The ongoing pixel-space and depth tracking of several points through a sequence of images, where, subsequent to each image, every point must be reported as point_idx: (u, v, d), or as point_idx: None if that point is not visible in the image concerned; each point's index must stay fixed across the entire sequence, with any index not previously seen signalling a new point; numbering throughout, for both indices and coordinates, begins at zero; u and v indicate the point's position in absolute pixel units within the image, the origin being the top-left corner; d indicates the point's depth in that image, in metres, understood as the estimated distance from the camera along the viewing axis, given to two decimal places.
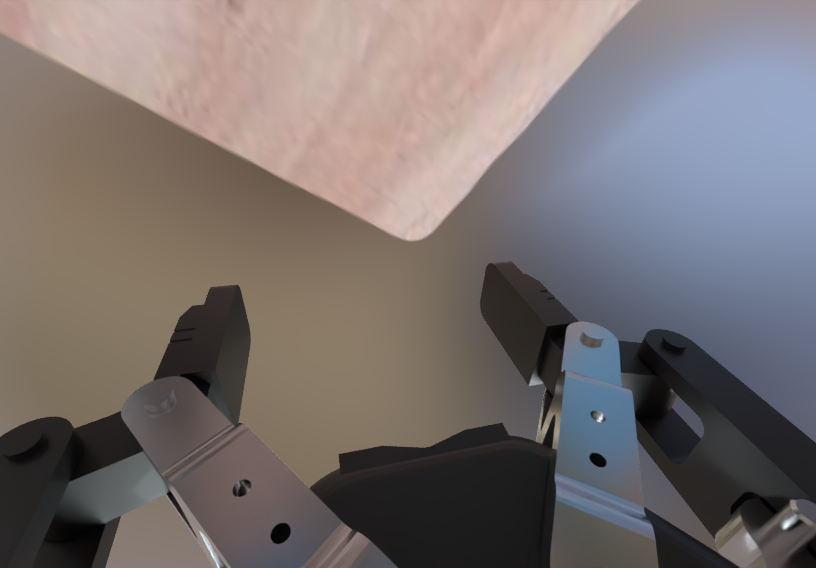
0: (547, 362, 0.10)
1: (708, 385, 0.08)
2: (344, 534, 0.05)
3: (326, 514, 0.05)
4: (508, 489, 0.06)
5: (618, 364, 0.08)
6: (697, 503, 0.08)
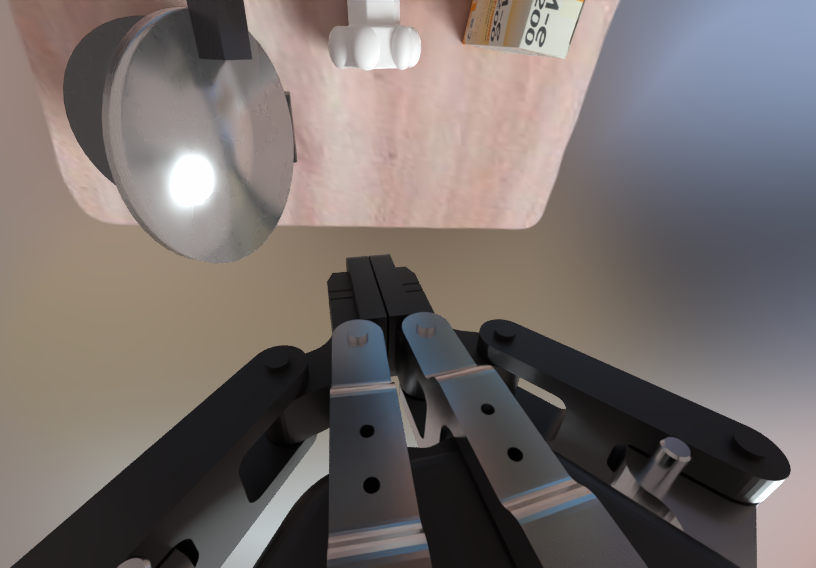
0: (396, 352, 0.10)
1: (551, 363, 0.08)
2: (414, 526, 0.05)
3: (410, 498, 0.05)
4: None
5: (437, 352, 0.09)
6: None
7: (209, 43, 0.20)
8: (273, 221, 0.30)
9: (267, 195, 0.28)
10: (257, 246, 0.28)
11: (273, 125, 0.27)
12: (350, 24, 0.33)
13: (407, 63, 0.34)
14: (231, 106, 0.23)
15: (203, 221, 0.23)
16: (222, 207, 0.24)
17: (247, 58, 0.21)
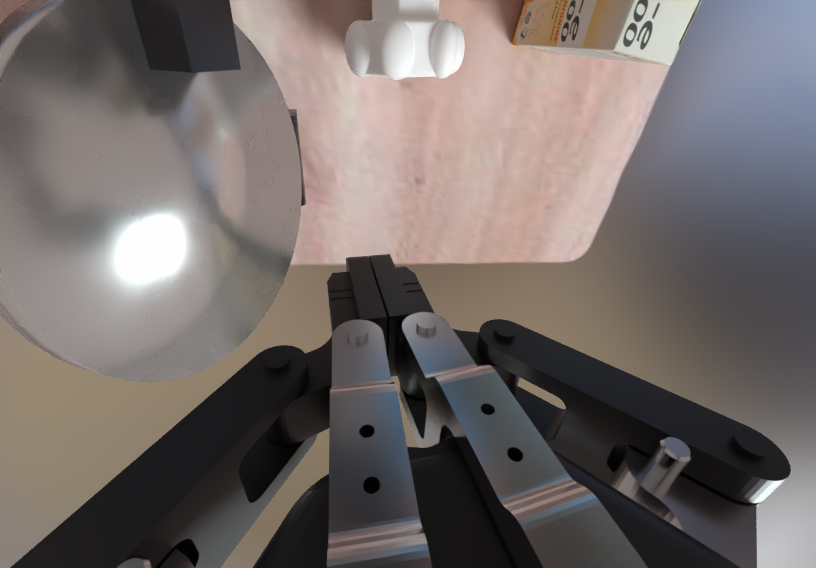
0: (396, 352, 0.10)
1: (551, 363, 0.08)
2: (414, 526, 0.05)
3: (410, 498, 0.05)
4: None
5: (437, 352, 0.09)
6: None
7: (165, 43, 0.11)
8: (273, 290, 0.21)
9: (266, 258, 0.20)
10: (251, 330, 0.20)
11: (273, 160, 0.19)
12: (374, 18, 0.25)
13: (450, 70, 0.25)
14: (209, 141, 0.15)
15: (163, 323, 0.14)
16: (196, 293, 0.16)
17: (232, 68, 0.13)
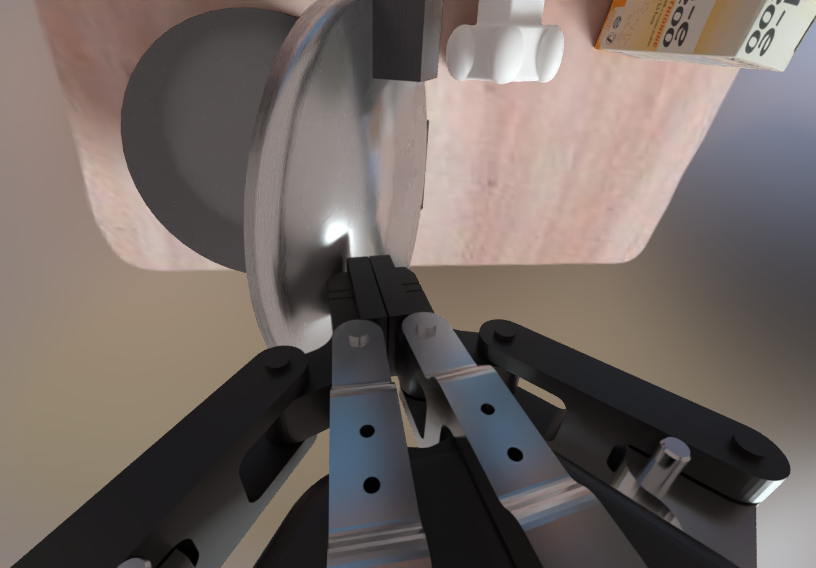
0: (396, 352, 0.10)
1: (551, 363, 0.08)
2: (414, 526, 0.05)
3: (410, 498, 0.05)
4: None
5: (437, 352, 0.09)
6: None
7: (398, 53, 0.12)
8: None
9: (399, 261, 0.20)
10: None
11: (414, 165, 0.19)
12: (480, 23, 0.25)
13: (554, 74, 0.25)
14: (389, 147, 0.15)
15: None
16: None
17: (434, 76, 0.13)
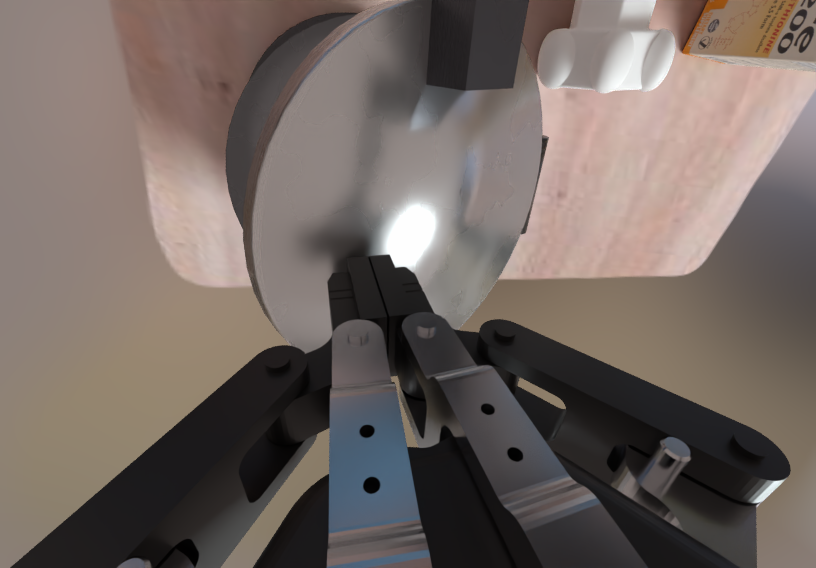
0: (396, 352, 0.10)
1: (551, 363, 0.08)
2: (414, 526, 0.05)
3: (410, 498, 0.05)
4: None
5: (437, 352, 0.09)
6: None
7: (449, 59, 0.11)
8: (465, 314, 0.20)
9: (469, 282, 0.19)
10: None
11: (509, 183, 0.18)
12: (580, 26, 0.23)
13: None
14: (455, 159, 0.14)
15: None
16: None
17: (505, 86, 0.12)
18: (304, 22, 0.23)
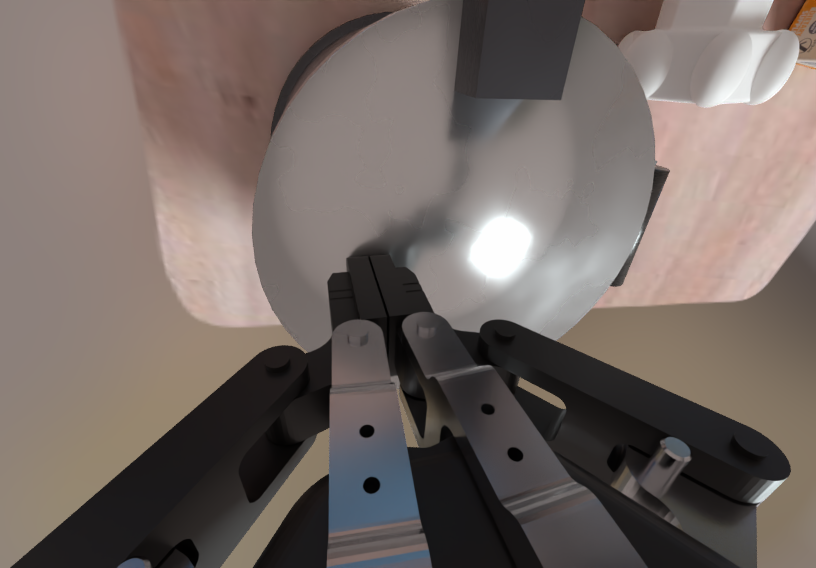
0: (396, 352, 0.10)
1: (551, 363, 0.08)
2: (413, 526, 0.05)
3: (410, 498, 0.05)
4: None
5: (437, 352, 0.09)
6: None
7: (468, 62, 0.10)
8: None
9: (518, 323, 0.16)
10: None
11: (590, 220, 0.14)
12: (677, 27, 0.19)
13: None
14: (498, 178, 0.12)
15: None
16: None
17: (546, 97, 0.10)
18: (348, 24, 0.19)
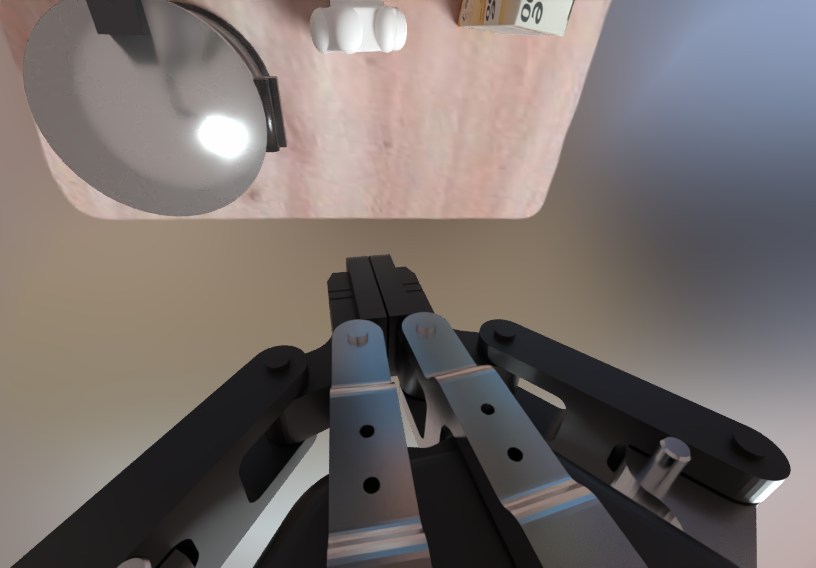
0: (396, 352, 0.10)
1: (551, 363, 0.08)
2: (414, 526, 0.05)
3: (410, 498, 0.05)
4: None
5: (437, 353, 0.09)
6: None
7: None
8: (223, 199, 0.31)
9: (214, 173, 0.29)
10: (194, 213, 0.31)
11: (227, 107, 0.27)
12: (332, 6, 0.32)
13: (392, 45, 0.32)
14: (155, 80, 0.25)
15: (114, 169, 0.28)
16: (140, 165, 0.28)
17: (134, 33, 0.23)
18: None
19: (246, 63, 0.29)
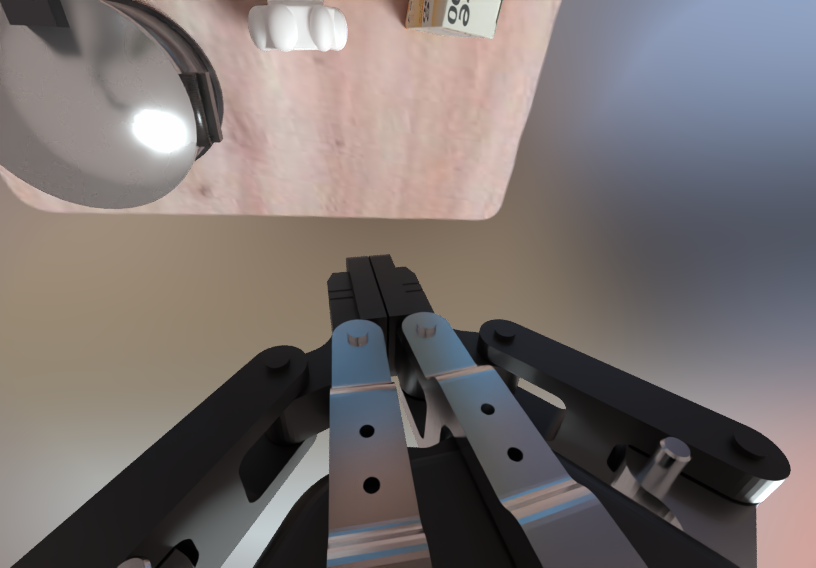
0: (396, 352, 0.10)
1: (551, 363, 0.08)
2: (414, 526, 0.05)
3: (410, 498, 0.05)
4: None
5: (437, 352, 0.09)
6: None
7: None
8: (155, 192, 0.31)
9: (144, 166, 0.30)
10: (126, 206, 0.31)
11: (153, 100, 0.27)
12: (269, 4, 0.32)
13: (328, 44, 0.33)
14: (76, 72, 0.26)
15: (39, 160, 0.28)
16: (67, 156, 0.28)
17: (47, 25, 0.23)
18: None
19: (178, 58, 0.30)
